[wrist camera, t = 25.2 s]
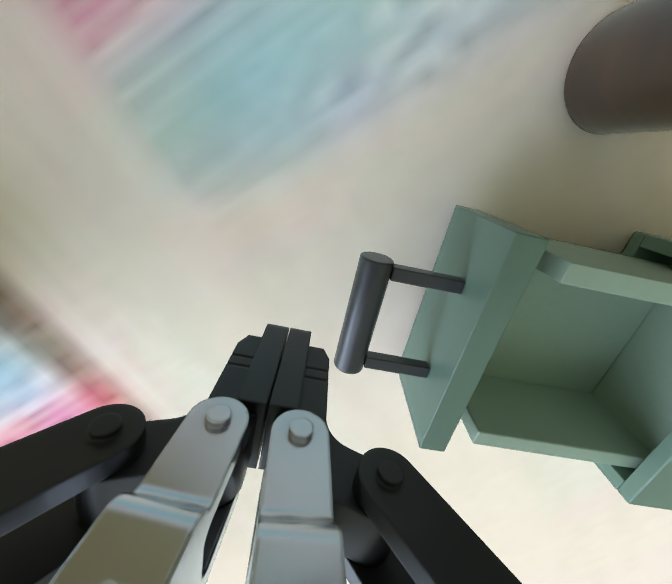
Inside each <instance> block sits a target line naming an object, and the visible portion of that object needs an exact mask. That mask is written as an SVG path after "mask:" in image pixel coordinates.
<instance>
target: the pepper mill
mask: <svg viewBox="0 0 672 584" xmlns="http://www.w3.org/2000/svg"><path fill="white" fill-rule="evenodd" d="M564 95H565V103H566V108H567V111H568V113H569V115H570V117H571V119H572V120H573V121H574V123H575V124H576V125H578V126H579V127H580V128H581V129H583V130H585V131H587V132H589V133H593V134H601V135H604V134H621V133H637V132H653V131H669V130H672V0H637V1H635V2H633V3H631V4H629V5H627V6H625V7H623V8H621V9H619V10H617V11H615V12H613V13H611V14H610V15H608V16H607V17H606V18H604V19H603V20H602V21H600V22H599V23H598V24H597V25H596V26H595V27H594V28H593V29H592V30H591V31H590V32H589V33H588V35H587V36H586V37H585V38H584V40H583V41H582V42H581V44H580V45H579V47H578V49H577V50H576V52H575V54H574V56H573V58H572V60H571V63H570V65H569V68H568V72H567V75H566V80H565V89H564Z"/></svg>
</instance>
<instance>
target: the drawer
mask: <svg viewBox="0 0 672 584" xmlns="http://www.w3.org/2000/svg"><path fill="white" fill-rule="evenodd" d="M389 278H390V280H391V281H395V282H400V283H405V284H411V285H416V286H421V287H426V291H425V294H424V297H423V299H422V302H421V305H420V308H419V310H418V313H417V316H416V319H415V322H414V324H413V327H412V330H411V333H410V336H409V338H408V341H407V344H406V347H405V350H404V352H403V355H402V357H399V356H394V355H388V354H382V353H377V352H371V351H368V348H369V345H370V341H371V338H372V335H373V331H374V328H375V325H376V321H377V318H378V315H379V311H380V308H381V305H382V301H383V298H384V295H385V291H386V288H387V285H388V281H389ZM334 364H335V366H336V367H337V368H338V369H339V370H340V371H342V372H344V373H348V374H356V373H358V372H360V371H361V370H362V368H363V365H364V367H365V368H370V369H376V370H382V371H388V372H394V373H399V376H400V380H401V383H402V387H403V390H404V394H405V397H406V401H407V405H408V408H409V412H410V415H411V419H412V422H413V426H414V430H415V433H416V437H417V440H418V444H419V447H420V448H423V449H430V450H437V451H444V450H445V448H446V446H447V444H448V442H449V440H450V438H451V436H452V434H453V432H454V430H455V428H456V426H457V424H458V422H459V420H460V418H461V419H462V421H463V423H464V425H465V427H466V430H467V432H468V434H469V436H470V438H471V440H472V442H473V443H474V444H480V445H487V446H493V447H500V448H506V449H513V450H519V451H526V452H532V453H539V454H545V455H551V456H558V457H564V458H571V459H577V460H584V461H590V462H597V463H603V464H610V465H616V466H622V467H629V468H635V469H637V467H638V466H639V465H640V464H641V463H642V462H643V461H644V460H645V459H646V457H647V456H648V455H649V454H650V453H651V452H652V451H653V450H654V448H655V447H656V446H657V445H658V444H659V443H660V442H661V441H662V440H663V438H664V437H665V436H666V435H667V434H668V433H669V432H670V431H671V430H672V266H671V265H667V264H662V263H658V262H653V261H648V260H644V259H639V258H635V257H630V256H625V255H621V254H616V253H611V252H607V251H602V250H598V249H593V248H588V247H584V246H579V245H575V244H570V243H565V242H561V241H556V240H552V239H547V238H544V237H542V236H540V235H537V234H535V233H532V232H530V231H528V230H525V229H523V228H520V227H518V226H516V225H513V224H511V223H508V222H506V221H504V220H501V219H499V218H496V217H494V216H492V215H489V214H487V213H484V212H482V211H480V210H476V209H472V208H467V207H463V206H458V205H456V207H455V210H454V213H453V216H452V218H451V221H450V224H449V227H448V230H447V232H446V235H445V238H444V241H443V243H442V246H441V249H440V252H439V255H438V257H437V260H436V263H435V266H434V269H433V271H428V270H423V269H418V268H413V267H408V266H403V265H398V264H394V261H393V260H392V259H391V258H389V257H387V256H385V255H382V254H379V253H374V252H363V253H361V255H360V259H359V263H358V267H357V271H356V275H355V279H354V283H353V287H352V291H351V295H350V299H349V303H348V307H347V311H346V315H345V319H344V323H343V327H342V331H341V334H340V338H339V342H338V346H337V350H336V354H335V358H334Z"/></svg>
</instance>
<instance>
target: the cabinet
mask: <svg viewBox="0 0 672 584" xmlns="http://www.w3.org/2000/svg"><path fill="white" fill-rule="evenodd" d="M621 255H625V256H630V257H635V258H639V259H644V260H648V261H653V262H658V263H662V264H667V265H671V266H672V239H668V238H663V237H659V236H654V235H650V234H645V233H641V232H635V233H634V234H633V236H632V237H631V239H630V241H629V242H628V244H627V246H626V247H625V249H624V251H623V252H622V254H621ZM594 463H595V464H596V465H597V467H598V468H599V469H600V470H601V471H602V473H603V474H604V475H605V476H606V478H607V479H608V480H609V481H610V482H611V484H612V485H613V486H614V487H615V488H616V489H618V492H619V493H620V494H621V495H622V496H623V498H624V499H625V500H626V501H627V502H628V503H629V504H634V505H641V506H647V507H654V508H661V509H668V510H672V430H671V431H670V432H669V433H668V434H667V435H666V436H665V437H664V438H663V440H662V441H661V442H660V443H659V444H658V445H657V446H656V447H655V448H654V450H653V451H652V452H651V453H650V454H649V455H648V456H647V457H646V459H645V460H644V461H643V462H642V463H641V464H640V465H639V466H638V467H637V469H635V468H629V467H622V466H616V465H610V464H603V463H597V462H594Z"/></svg>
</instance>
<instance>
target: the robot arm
mask: <svg viewBox="0 0 672 584" xmlns="http://www.w3.org/2000/svg"><path fill="white" fill-rule="evenodd" d="M288 332H289V328H288V327H283V326H278V325H273V324H267V327H266V329H265V331H264V334H263V336H262V337H257V336H251V335H248V336H247V337H245V338H244V339H243V340H241V341H240V342H238V344H237V346H236V347H235V349H234V351H233V353H232V355H231V357H230V359H229V361H228V363H227V364H226V366H225V368H224V370H223V372H222V374H221V376H220V377H219V379H218V381H217V383H216V385H215V387H214V389H213V391H212V392H211V394H210V396H209V398H208V399H206V400H204V401H201V402H200V403H198V404H197V405H195V406H194V407H193V408H192V409H191V410H190V412H189V413H188V414H187V415H185V416H183V417H179V418H174V419H165V420H155V421H146V420H145V416H144V414H143V412H142V411H141V410H140V409H138V408H136V407H134V406H131V405H127V404H112V405H106V406H102V407H99V408H96V409H93V410H91V411H88V412H86V413H83V414H81V415H79V416H76V417H74V418H71V419H69V420H66V421H64V422H61V423H59V424H56V425H54V426H51V427H49V428H46V429H44V430H42V431H39V432H37V433H34V434H32V435H29V436H27V437H24V438H22V439H19V440H17V441H14V442H12V443H9V444H7V445H5V446H2V447H0V584H206V582H207V579H208V577H209V574H210V571H211V568H212V566H213V563H214V560H215V558H216V555H217V552H218V550H219V547H220V544H221V542H222V539H223V536H224V534H225V531H226V528H227V526H228V523H229V520H230V517H231V515H232V512H233V509H234V507H235V504H236V501H237V499H238V495H239V491H240V489H241V486H242V484H243V480H244V477H245V474H246V470H247V467H250V468H256V466H257V462H258V459H259V455H260V451H261V447H262V451H261V457H260V462H259V468H258V469H264V473H263V478H262V484H261V489H260V495H259V500H258V506H257V513H256V519H255V525H254V532H253V538H252V544H251V551H250V557H249V563H248V570H247V576H246V582H245V584H346V578H347V580H348V581H349V583H350V584H522V583H521V582H520V581H519V580H518V579H517V578H516V577H515V576H514V575H513V573H512V572H511V571H510V570H509V569H508V568H507V567H506V566H505V565H504V564H503V563H502V562H501V560H500V559H499V558H498V557H497V556H496V555H495V554H494V553H493V552H492V551H491V550H490V549H489V548H488V546H487V545H486V544H485V543H484V542H483V541H482V540H481V539H480V538H479V537H478V536H477V535H476V534H475V532H474V531H473V530H472V529H471V528H470V527H469V526H468V525H467V524H466V523H465V522H464V521H463V519H462V518H461V517H460V516H459V515H458V514H457V513H456V512H455V511H454V510H453V509H452V508H451V507H450V505H449V504H448V503H447V502H446V501H445V500H444V499H443V498H442V497H441V496H440V495H439V494H438V493H437V491H436V490H435V489H434V488H433V487H432V486H431V485H430V484H429V483H428V482H427V481H426V480H425V478H424V477H423V476H422V475H421V474H420V473H419V472H418V471H417V470H416V469H415V468H414V467H413V466H412V464H411V463H410V462H409V461H408V460H407V459H406V458H404V457H403V456H402V455H401V454H399V453H397V452H395V451H393V450H390V449H387V448H374V449H371V450H369V451H367V452H366V453H365V454H364V455H362V454H360V453H358V452H356V451H353V450H351V449H349V448H347V447H346V446H344V445H342V444H341V443H340V442H338V441H337V440H336V439H335V438H334V436H333V435H332V434H331V432H330V431H329V428H328V426H327V422H326V413H327V393H328V371H329V358H328V356H327V354H326V353H325V351H324V349H321V348H316V347H310V346H309V343H310V337H311V332H310V331H304V330H299V329H294V328H290V332H289V335H288ZM287 337H288V339H287ZM262 444H263V445H262Z"/></svg>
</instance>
